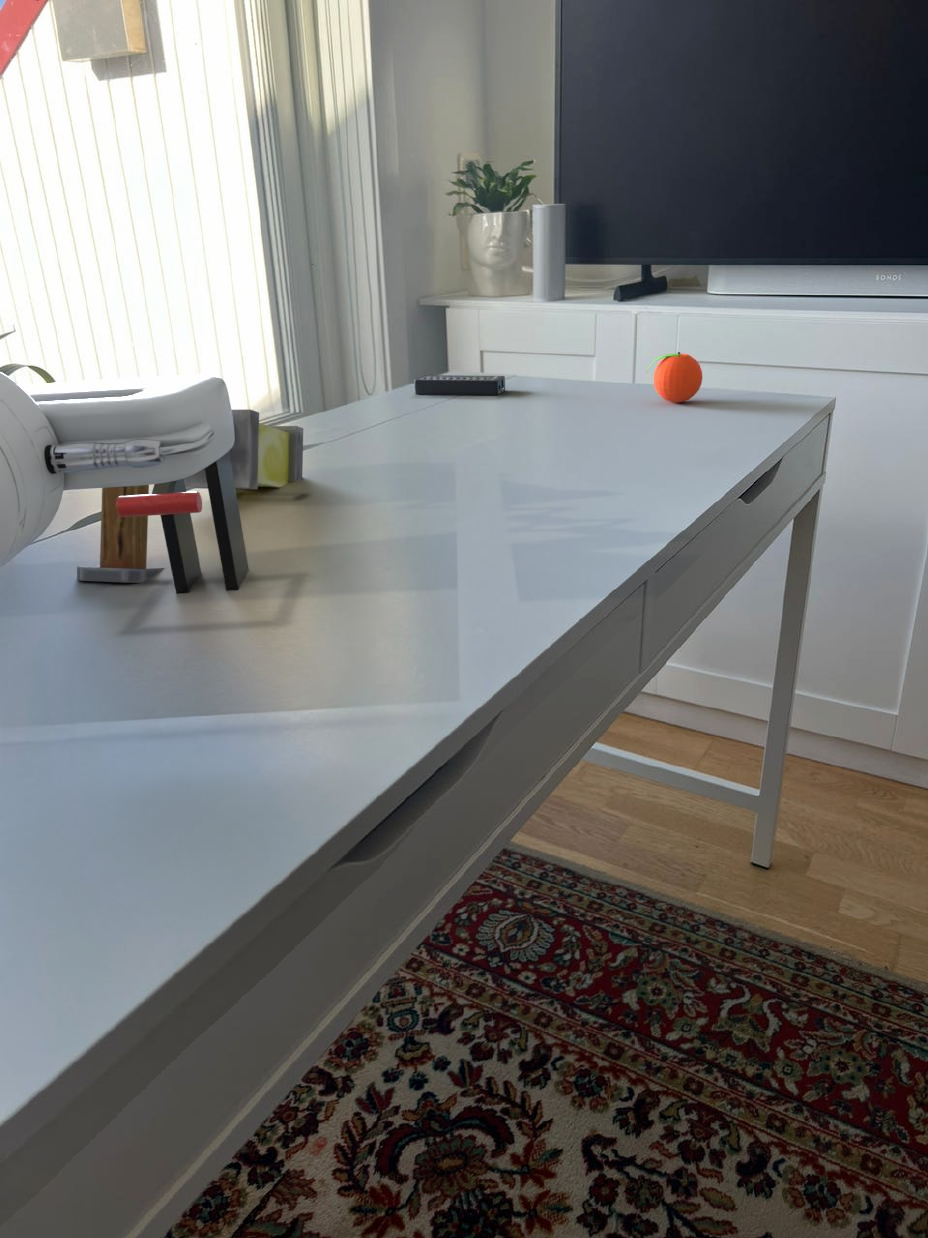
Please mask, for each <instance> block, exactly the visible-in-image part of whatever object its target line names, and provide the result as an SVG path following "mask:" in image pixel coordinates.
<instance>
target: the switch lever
mask: <svg viewBox="0 0 928 1238" xmlns="http://www.w3.org/2000/svg"><path fill="white" fill-rule="evenodd" d="M175 484H176V481H171V482H166V483H159V484H153V487H152V491H151V493H149V494H148V495H132V496H119V497H118V498H117V504H116V505H117V511H118V514H119V516H120V517H134V516H148V517H149V516H161V515H167V514H184V513H190V514H198V513H201V512H202V511H203V500H202V496H201V493H200V492H199V491H186V492H182V493H173V492H174V488H175Z"/></svg>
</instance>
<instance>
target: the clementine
mask: <svg viewBox="0 0 928 1238" xmlns="http://www.w3.org/2000/svg"><path fill="white" fill-rule="evenodd" d="M658 360H659V361H660V362H659V363H658V364H657V365H656V368H655V369H654V372H653V387H654V389H655V392H656V393H657V394H658V395H659V397H661V398H662V399H663V400H665V401H667V402H670V403H674V404H676V403H677V404H679V403H683V402H686V401H689V400H691V399H692V398H693V397H694V396H696V394H697V393H698V392H699V390H700V388H701V386H702V383H703V370H702V367H701V365H700V364H699V362H698V360H697V359H696V358H694V357H692V355H690V354H688V353H681V351H678V352H677V353H668V354H663V355H661V356H659V357H657V358H655V359H654V360H653V361H652V362H651V363H650V365H648V368H647V370H646V373H648V371H649V370H650V367H651V366H653V364H654V363H655V362H657V361H658Z"/></svg>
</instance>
